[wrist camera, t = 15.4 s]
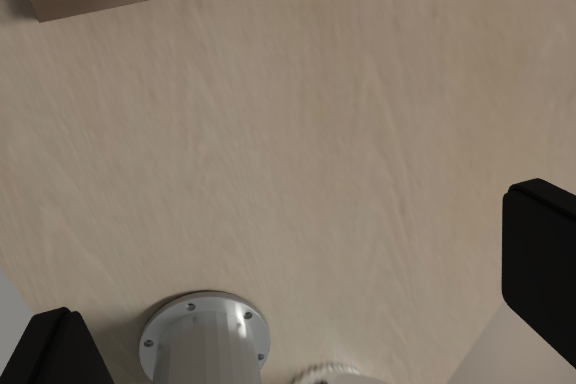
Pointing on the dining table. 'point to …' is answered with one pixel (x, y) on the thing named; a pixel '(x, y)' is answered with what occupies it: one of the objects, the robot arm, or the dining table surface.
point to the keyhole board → (72, 7)
